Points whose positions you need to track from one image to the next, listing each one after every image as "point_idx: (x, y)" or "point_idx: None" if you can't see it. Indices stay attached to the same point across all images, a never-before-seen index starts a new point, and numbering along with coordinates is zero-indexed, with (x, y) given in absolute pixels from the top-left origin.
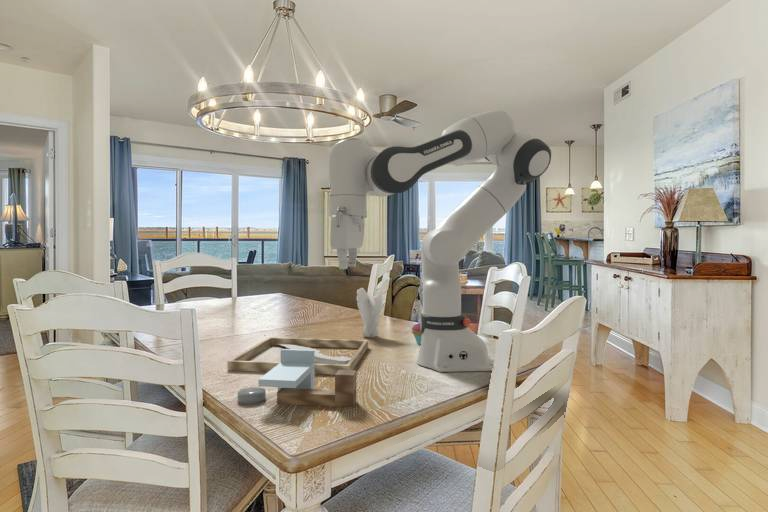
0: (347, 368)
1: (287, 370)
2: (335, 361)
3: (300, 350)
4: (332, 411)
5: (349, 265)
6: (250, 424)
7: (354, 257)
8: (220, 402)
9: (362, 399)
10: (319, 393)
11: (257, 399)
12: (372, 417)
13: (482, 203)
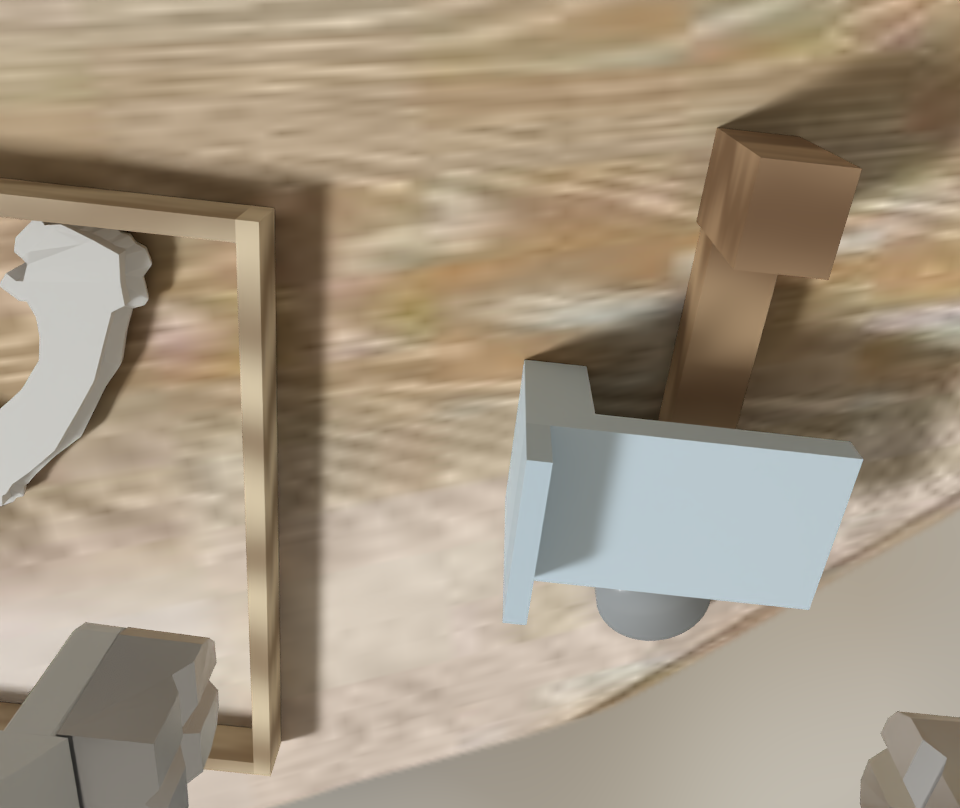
0: (264, 230)
1: (677, 524)
2: (113, 318)
3: (540, 530)
4: None
5: (213, 723)
6: (912, 519)
7: (20, 796)
8: (671, 663)
9: (683, 96)
10: (753, 324)
11: None
12: (947, 22)
13: None
